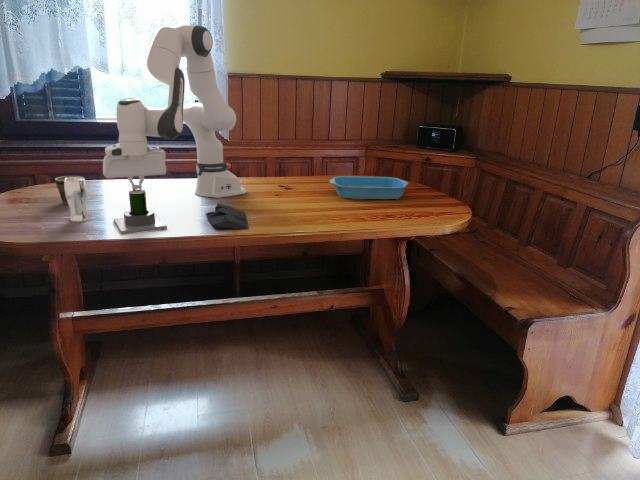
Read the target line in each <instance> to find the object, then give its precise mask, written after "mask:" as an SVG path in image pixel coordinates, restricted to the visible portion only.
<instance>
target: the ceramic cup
mask: <svg viewBox="0 0 640 480" xmlns="http://www.w3.org/2000/svg"><path fill="white" fill-rule="evenodd" d="M69 177H82V176H79V175H64V176H59V177H55V179H54V182H55V185H56V187H57V189H58V193H59V196H60V199H61V201H62V204H63V205H66V206H69V205H68V202H67V199H66V195H65V188H64V179H65V178H69Z"/></svg>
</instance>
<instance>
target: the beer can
mask: <svg viewBox="0 0 640 480" xmlns="http://www.w3.org/2000/svg"><path fill="white" fill-rule="evenodd" d="M128 196H129V198H128V199H129V206H130V208H129V209H130V210H131V215H136V216H138V215H146V214H147V209H148V206H147V196H146V190H145V188H144V187H142V189H132V187H131V188H129V191H128Z"/></svg>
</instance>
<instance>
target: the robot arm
mask: <svg viewBox="0 0 640 480" xmlns="http://www.w3.org/2000/svg"><path fill="white" fill-rule="evenodd" d="M212 49H213V36H212V33H211V31H209V29H208V28H207V27H205V26H202V25H188V24H187V25H185V24H184V25H177V26H169V25H165V26H164V25H163V26H161V27H159V28H158V29H157V31H156V33H155V34H154V37H153V38H152V40H151V42H150V46H149V49H148V52H147V55H146V61H145V62H146V63H145V64H146V67H147V70H148V72H149V73H150V75H152V77H154V78H155V80H158V81H159V82H161V83H163V84H165V85H167V86H168V87H169V88H168V98H167V100H168V101H167V106H166V107H164V108H156V107H155V108H154V107H153V108H152V107H148V106H146V105H144V104H143V102H142V100H141V99H140V98H137V97H129V98H123V99H120V100H119V101H118V102H117V103H116V104H117V105H116V126H117V129H118V134H119V135H118V143H115V144H112V145H109V146H106V147H105V148H104V153H105V155H104V157H103V159H102V160H103V161H102V174H103V176H104V177H105V178H106V179H117V178H118V179H120V178H127V179H128V181H129V183H130V184H131V188H132V189H142V188H143V187H142V185H143V182H144V180H145V177H148V176H162V175H166V173H167V166H166V161H165V159H166V151H165V150H164V149H162V148H161V147H148V140H147V137H153V138H155V137H156V138H162V139H167V140H168V139H169V140H174V139H176V138H178V137H179V136H180V135H181V134H182V132H183V130H184V124H185V125H186V126H187V127H188V128H189V130H190V131H191V133H192V135H193V138H194V141H195V145H196V156H197V161H196V174H197V180H196V189H195V192H194V194H196V195H198V196H201V197H207V198H208V197H210V198H216V199H218V198H225V197H231V196H239V195H244V194H246V193H247V191H246V188H244V187H243V186H241V185H242V184H241V181H240V179H239V177H237V176H236V175H235V174H234V173H233V172H231V171H230V170H229V169H231V167H232V164H231V163H229V162H225V161H224V150H223V147H224V146H223V143H222V141H220V139H218V138H217V136H216V135H215V132H214V131H216V132H227V131H231V130H233V129H234V127H235V125H236V122H237V115H236V112H235V111H234V108H232V107H231V106H229V105H228V104H227V102H226V101H225V99H224V98H223V96H222V94H221V92H220V90H219V86H218V83H217V77H216V72H215V65H214V61H213V57H212V54H211V51H212ZM182 58H185V60H184V61H185V68H186V69H185V70H186V73H187V74H186V75H187V77H188V78H187V79H188V83H189V89H190V92H191V93H192V94H193V95H194V96H195V97H197V98H198V100H199V101H200V102H193V103H188V104H186V105H185V106H184V103H185V102H184V99H185V89H186V88H185V85H186V84H185V82H186V81H185V80H186V79H185V75H184V72H183V71H182V69H180V64H181V59H182ZM134 177H138V178H139V181H138V182H136V183H135V182H133V180H134Z"/></svg>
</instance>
